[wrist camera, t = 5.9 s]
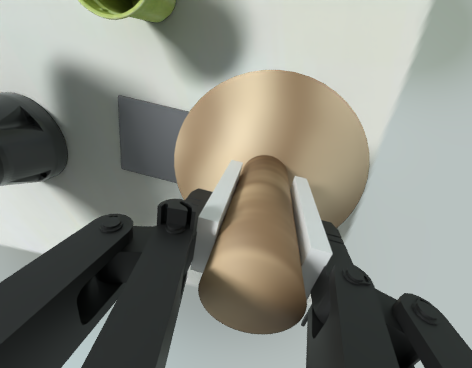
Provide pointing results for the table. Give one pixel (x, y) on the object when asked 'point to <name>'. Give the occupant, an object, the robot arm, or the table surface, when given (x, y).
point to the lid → (268, 187)
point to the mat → (149, 137)
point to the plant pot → (131, 9)
